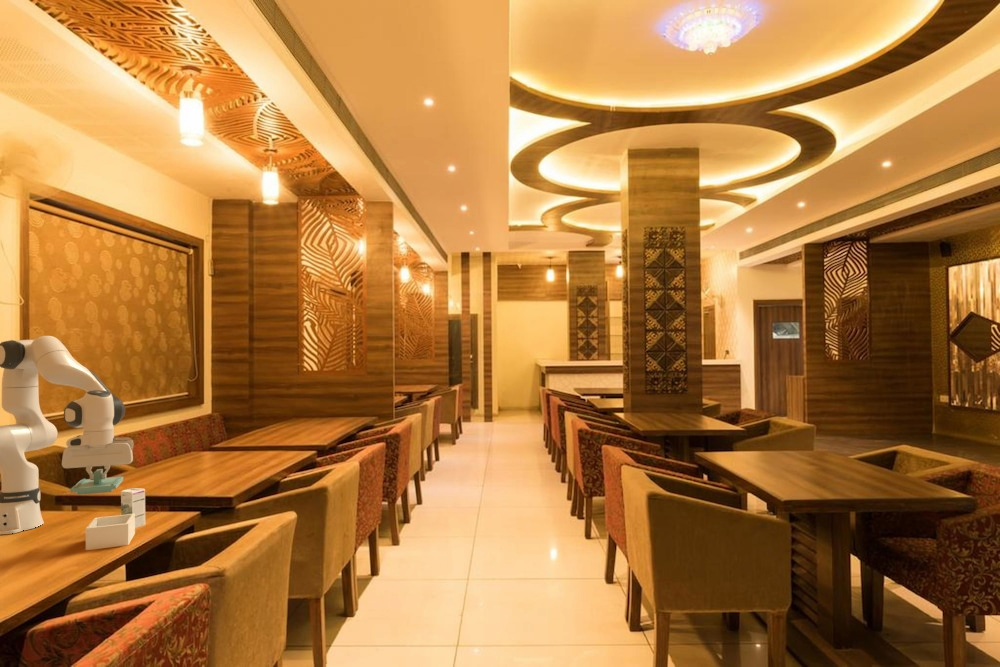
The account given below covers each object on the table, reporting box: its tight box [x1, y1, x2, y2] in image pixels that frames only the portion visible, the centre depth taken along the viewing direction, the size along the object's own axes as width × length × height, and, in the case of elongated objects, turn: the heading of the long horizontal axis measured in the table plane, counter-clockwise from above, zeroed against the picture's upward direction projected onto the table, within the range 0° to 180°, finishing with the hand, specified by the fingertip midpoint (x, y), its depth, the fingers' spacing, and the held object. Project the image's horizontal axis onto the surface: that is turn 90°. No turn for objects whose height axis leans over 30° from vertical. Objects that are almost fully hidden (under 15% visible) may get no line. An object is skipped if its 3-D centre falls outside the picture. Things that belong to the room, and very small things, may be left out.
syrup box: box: [120, 487, 147, 529], centre depth 227 cm, size 6×6×14 cm
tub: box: [85, 514, 136, 551], centre depth 208 cm, size 12×14×8 cm
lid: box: [70, 468, 124, 496], centre depth 209 cm, size 13×15×6 cm
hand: (98, 479), depth 209 cm, fingers closed on lid
